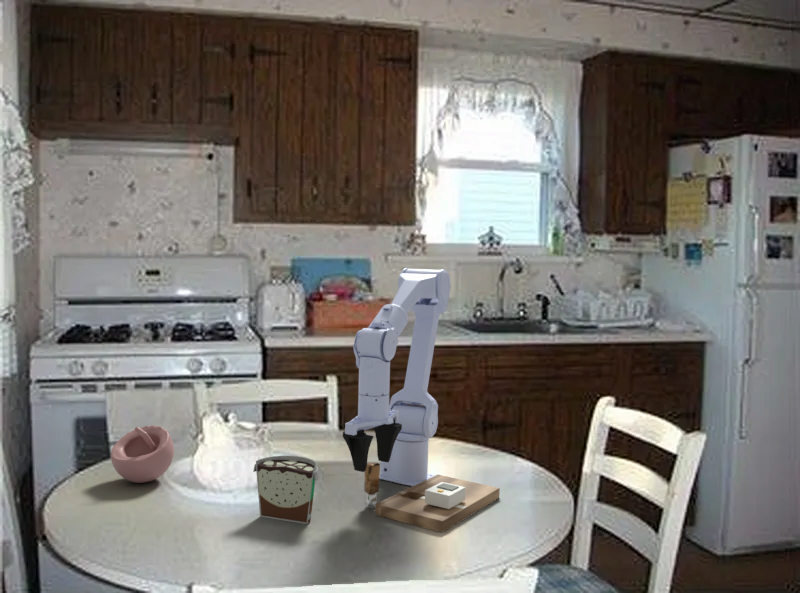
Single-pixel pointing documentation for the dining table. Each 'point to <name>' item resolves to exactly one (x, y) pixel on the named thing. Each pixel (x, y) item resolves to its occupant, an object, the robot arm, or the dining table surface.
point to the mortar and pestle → (143, 454)
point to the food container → (286, 487)
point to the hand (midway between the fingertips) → (372, 465)
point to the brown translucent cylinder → (371, 483)
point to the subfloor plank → (417, 512)
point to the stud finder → (445, 495)
